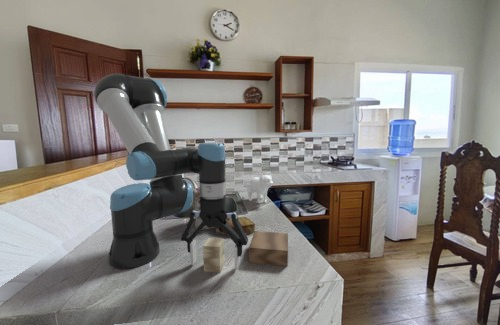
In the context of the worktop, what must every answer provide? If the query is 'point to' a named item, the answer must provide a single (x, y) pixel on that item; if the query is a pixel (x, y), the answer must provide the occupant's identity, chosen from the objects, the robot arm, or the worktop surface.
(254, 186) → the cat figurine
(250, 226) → the stone
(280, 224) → the worktop surface
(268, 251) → the plinth
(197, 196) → the decorative jar
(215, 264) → the oak block
